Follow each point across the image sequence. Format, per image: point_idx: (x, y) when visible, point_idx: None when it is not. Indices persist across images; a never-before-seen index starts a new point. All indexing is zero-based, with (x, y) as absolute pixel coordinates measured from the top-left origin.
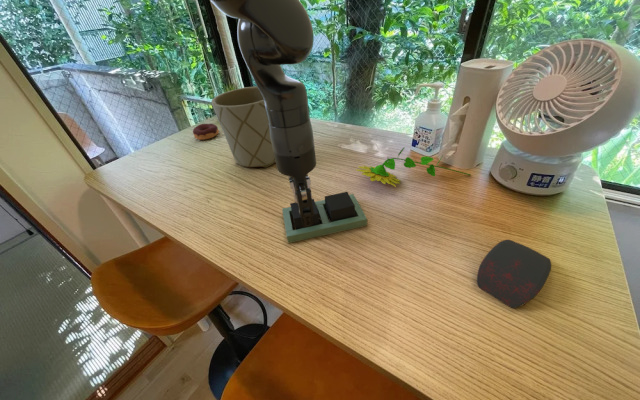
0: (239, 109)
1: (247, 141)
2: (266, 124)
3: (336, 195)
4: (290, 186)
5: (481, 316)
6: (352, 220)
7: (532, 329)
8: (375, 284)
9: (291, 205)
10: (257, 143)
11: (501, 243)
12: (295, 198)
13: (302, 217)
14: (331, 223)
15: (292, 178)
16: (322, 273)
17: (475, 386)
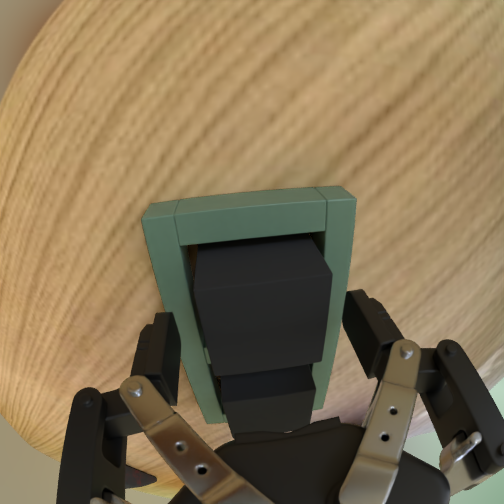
0: None
1: None
2: None
3: (303, 412)
4: (238, 497)
5: (49, 430)
6: (205, 405)
7: (52, 444)
8: (49, 375)
9: (312, 280)
10: None
11: (132, 486)
12: (159, 451)
13: (76, 399)
14: (200, 367)
15: (334, 495)
16: (43, 300)
17: None
